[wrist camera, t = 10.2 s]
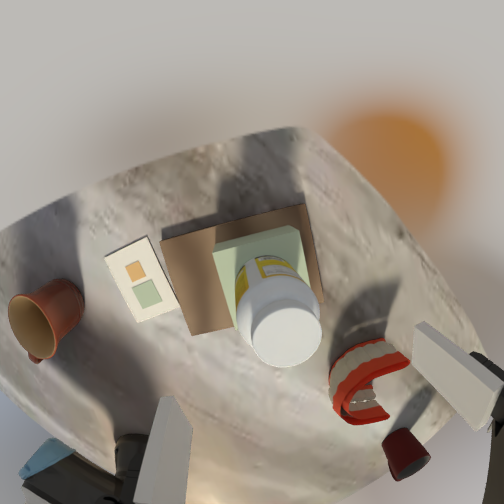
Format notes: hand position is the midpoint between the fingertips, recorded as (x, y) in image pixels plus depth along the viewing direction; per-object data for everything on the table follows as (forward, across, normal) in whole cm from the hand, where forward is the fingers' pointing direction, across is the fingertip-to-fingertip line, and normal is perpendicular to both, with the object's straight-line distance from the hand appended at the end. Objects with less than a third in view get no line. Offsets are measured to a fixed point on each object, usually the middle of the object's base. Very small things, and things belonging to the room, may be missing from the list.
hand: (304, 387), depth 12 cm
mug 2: (+23, +21, -52) cm, 60 cm away
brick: (+21, 0, 0) cm, 21 cm away
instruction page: (+23, -15, +2) cm, 27 cm away
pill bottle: (+17, 0, 0) cm, 17 cm away
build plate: (+23, -2, 0) cm, 23 cm away
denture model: (+23, +10, -21) cm, 33 cm away
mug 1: (+23, -30, +1) cm, 38 cm away
